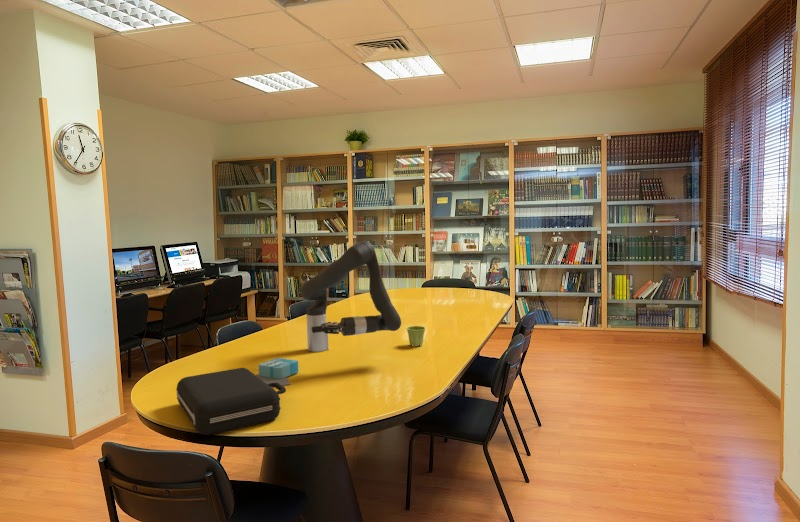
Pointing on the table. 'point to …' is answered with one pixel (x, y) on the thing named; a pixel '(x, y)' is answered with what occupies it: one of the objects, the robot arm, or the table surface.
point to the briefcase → (228, 400)
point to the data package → (278, 368)
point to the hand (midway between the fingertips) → (312, 329)
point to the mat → (275, 380)
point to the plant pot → (416, 335)
